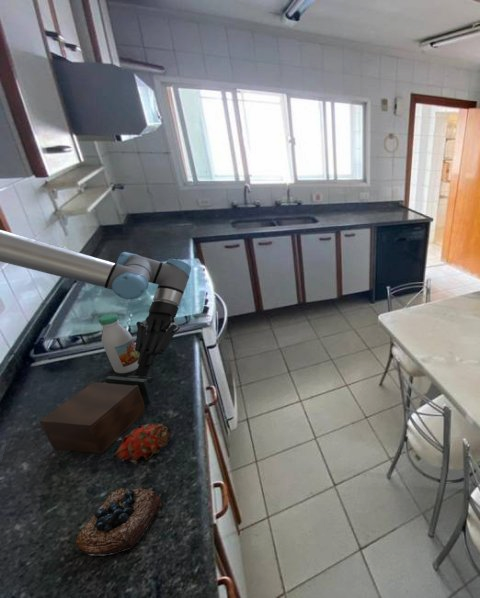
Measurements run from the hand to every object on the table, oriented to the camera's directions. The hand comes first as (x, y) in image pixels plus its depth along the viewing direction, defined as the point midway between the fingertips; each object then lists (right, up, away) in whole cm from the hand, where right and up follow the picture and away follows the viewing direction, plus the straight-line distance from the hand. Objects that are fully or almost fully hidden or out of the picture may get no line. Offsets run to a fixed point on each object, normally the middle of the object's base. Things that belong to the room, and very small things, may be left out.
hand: (140, 375), depth 101 cm
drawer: (-1, -8, -6) cm, 10 cm away
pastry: (+23, -23, -33) cm, 46 cm away
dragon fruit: (+15, -16, -17) cm, 28 cm away
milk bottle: (-14, 0, +12) cm, 19 cm away
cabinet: (-1, -12, -11) cm, 16 cm away
